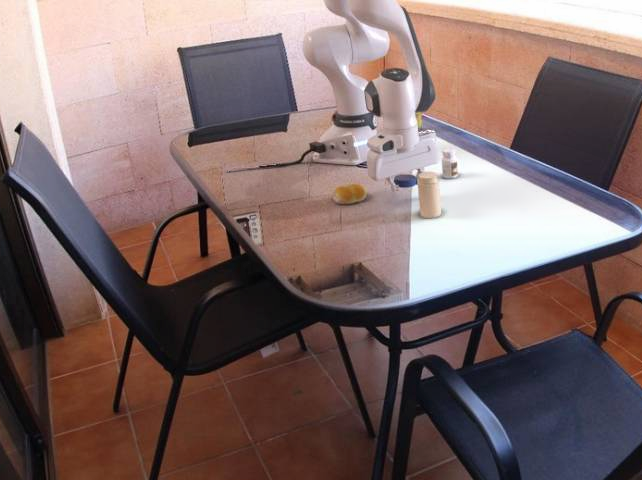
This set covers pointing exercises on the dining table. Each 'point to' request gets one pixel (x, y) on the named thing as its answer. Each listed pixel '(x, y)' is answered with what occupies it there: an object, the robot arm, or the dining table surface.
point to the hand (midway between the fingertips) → (406, 187)
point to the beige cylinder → (429, 195)
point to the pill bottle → (449, 164)
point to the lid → (405, 180)
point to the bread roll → (349, 194)
